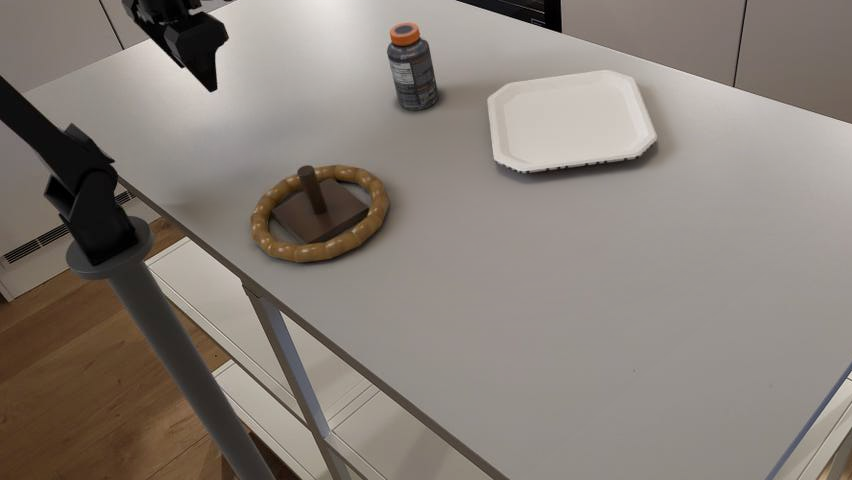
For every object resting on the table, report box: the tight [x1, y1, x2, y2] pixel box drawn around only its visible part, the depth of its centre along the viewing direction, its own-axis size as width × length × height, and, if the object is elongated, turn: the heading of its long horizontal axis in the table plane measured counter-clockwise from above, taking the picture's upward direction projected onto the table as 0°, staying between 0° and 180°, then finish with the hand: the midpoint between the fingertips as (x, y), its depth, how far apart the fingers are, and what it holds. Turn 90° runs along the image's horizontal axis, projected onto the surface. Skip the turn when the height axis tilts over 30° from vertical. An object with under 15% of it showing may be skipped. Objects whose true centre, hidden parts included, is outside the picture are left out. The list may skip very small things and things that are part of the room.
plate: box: [486, 69, 658, 174], centre depth 100 cm, size 21×21×2 cm
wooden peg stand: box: [271, 164, 370, 245], centre depth 92 cm, size 9×9×7 cm
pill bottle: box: [386, 22, 439, 111], centre depth 107 cm, size 6×6×11 cm
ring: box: [250, 164, 390, 264], centre depth 94 cm, size 17×17×2 cm
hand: (198, 78), depth 98 cm, fingers open, 9 cm apart
